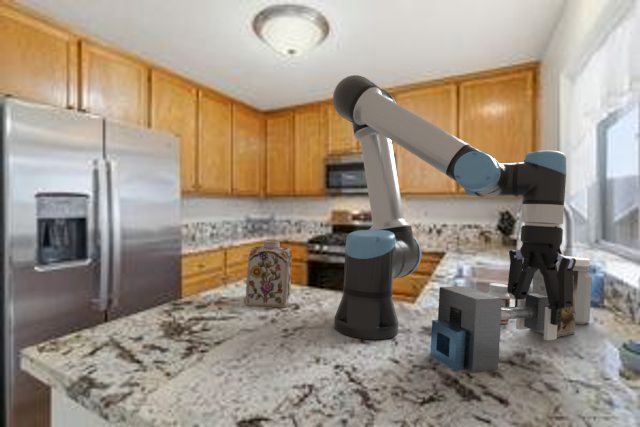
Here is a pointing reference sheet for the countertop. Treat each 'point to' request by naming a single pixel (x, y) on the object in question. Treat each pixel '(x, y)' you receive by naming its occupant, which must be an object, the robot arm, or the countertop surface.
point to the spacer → (456, 346)
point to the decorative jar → (269, 275)
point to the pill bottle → (500, 295)
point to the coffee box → (567, 313)
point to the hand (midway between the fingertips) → (535, 333)
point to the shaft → (529, 312)
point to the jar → (582, 290)
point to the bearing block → (473, 324)
